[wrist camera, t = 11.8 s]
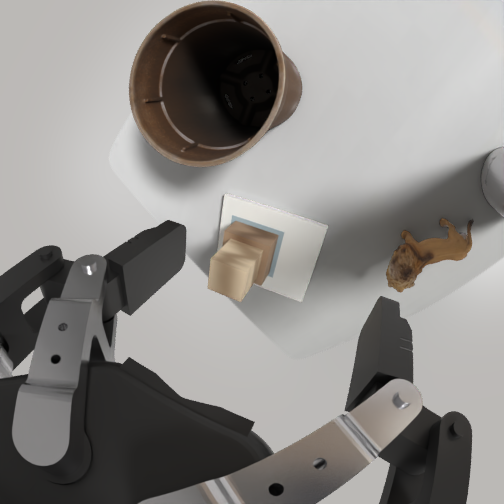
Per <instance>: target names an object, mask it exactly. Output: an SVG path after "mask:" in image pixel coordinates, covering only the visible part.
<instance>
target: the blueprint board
mask: <svg viewBox="0 0 504 504" xmlns="http://www.w3.org/2000/svg"><path fill="white" fill-rule="evenodd" d="M235 221H238V222H241V223H244V224H247V225H250V226H253V227H256V228H259V229H262V230H265V231H268V232H271V233H274V234H277V235H279V236H278V240H277V244H276V248H275V252H274V256H273V260H272V264H271V268H270V272H269V274H268V276H267V277H266V279H265V281H264V282H263V284H262V285H261V286H260V285H257V284H254V283H253V284H254V285H256V286H259V287H262V288H264V289H267V290H270V291H272V292H275V293H278V294H280V295H283V296H286V297H288V298H291V299H294V300H296V301H299V302H302V300H303V298H304V295H305V292H306V290H307V287H308V284H309V281H310V279H311V276H312V273H313V270H314V267H315V264H316V261H317V259H318V256H319V253H320V250H321V247H322V244H323V241H324V238H325V235H326V232H327V229H328V225H325V224H322V223H319V222H316V221H313V220H311V219H308V218H305V217H302V216H299V215H295V214H292V213H289V212H286V211H283V210H280V209H277V208H274V207H271V206H267V205H264V204H261V203H258V202H255V201H251V200H248V199H245V198H241V197H238V196H235V195H231V194H228V193H227V194H225V195H224V201H223V208H222V216H221V223H220V231H219V239H218V247H217V252H218V251H219V250H220V249H221V248H222V245H223V238H224V231H225V230H226V229H227V228H228V227H229V226H230V225H231V224H233V223H234V222H235Z"/></svg>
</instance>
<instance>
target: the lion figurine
mask: <svg viewBox="0 0 504 504" xmlns="http://www.w3.org/2000/svg"><path fill="white" fill-rule="evenodd" d="M473 222H474V220H473V219H472V220H470V221H469V223H468V227H467V235H466V234H465V233H460V234H459V233H458V232H457V231H456V230H455V226H454V225H452V224H451V223H450V222H449V221H448V220H446V219H444V218H442V219H441V220H440V226H442V227H448V228H449V231H448V238H447V239H440V238H429V239H426V240H423V241H421V242H417V241H416V240H414V239H413V237H412V235H411V234H410V233H409V232H408V231H406V230H404V231H403V232H402V234H401V236H402V238H403V239H405V244H403V245H400V246H399V247H398V249H397V250H395V251H394V254H393V256H392V259H391V260H390V262H389V265H388V269H387V272H386V276H387V280H388V286H389V287H393V288H394V289H396V290H397V291H398V292H403V290H404V289H406V288H411V287H412V286H414V281H415V280H416V278H417V275H418V274H419V273H421V272H422V268H423V267H425V266H426V265H428V264H433V263H437V262H440V261H442V260H456V261H459V260H462V259H463V258H465V257H466V256H467V253H468V252H469V251H470V250H471V247H472V238H471V233H470V230H471V226H472V223H473Z"/></svg>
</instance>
